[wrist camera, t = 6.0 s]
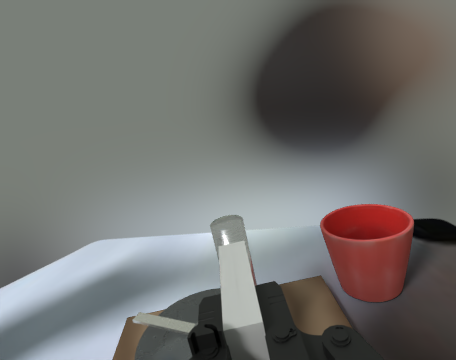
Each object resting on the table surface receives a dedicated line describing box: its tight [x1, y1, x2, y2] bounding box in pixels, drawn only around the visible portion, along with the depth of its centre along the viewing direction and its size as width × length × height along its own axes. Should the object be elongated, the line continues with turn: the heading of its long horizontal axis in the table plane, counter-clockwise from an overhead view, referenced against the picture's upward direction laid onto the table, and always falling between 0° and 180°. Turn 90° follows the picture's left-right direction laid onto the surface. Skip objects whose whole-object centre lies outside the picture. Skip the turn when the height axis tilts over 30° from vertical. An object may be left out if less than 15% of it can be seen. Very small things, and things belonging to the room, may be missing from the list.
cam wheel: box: [133, 215, 257, 360], centre depth 34 cm, size 18×16×16 cm
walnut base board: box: [112, 276, 353, 360], centre depth 36 cm, size 28×18×2 cm, turn 93°
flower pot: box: [320, 204, 414, 302], centre depth 42 cm, size 11×11×10 cm
